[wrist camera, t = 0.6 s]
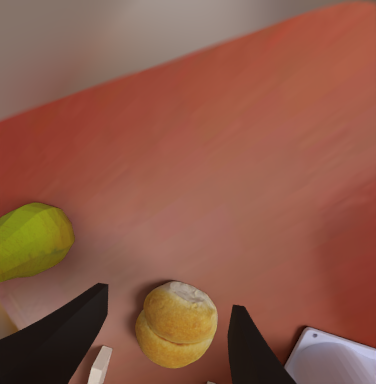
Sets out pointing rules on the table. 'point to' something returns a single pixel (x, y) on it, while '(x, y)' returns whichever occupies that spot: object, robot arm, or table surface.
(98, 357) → the pocket
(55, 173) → the table surface
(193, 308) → the bread roll
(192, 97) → the table surface
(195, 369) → the table surface
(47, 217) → the fruit
